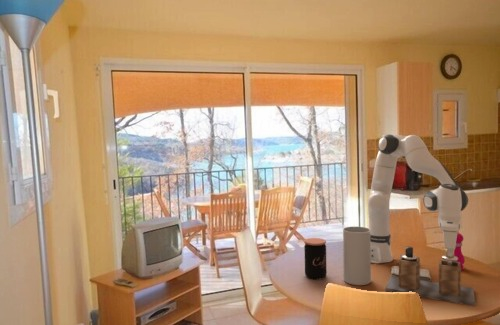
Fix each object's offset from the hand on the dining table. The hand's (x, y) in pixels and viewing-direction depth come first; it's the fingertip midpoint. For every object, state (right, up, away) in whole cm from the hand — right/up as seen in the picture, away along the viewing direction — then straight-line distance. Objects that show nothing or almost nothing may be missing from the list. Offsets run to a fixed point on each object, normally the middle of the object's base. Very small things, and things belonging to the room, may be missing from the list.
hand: (450, 254), depth 157 cm
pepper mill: (+21, -15, +32) cm, 41 cm away
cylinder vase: (-34, -18, +19) cm, 43 cm away
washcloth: (-6, -17, +24) cm, 30 cm away
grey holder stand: (-7, -18, +5) cm, 19 cm away
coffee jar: (-53, -18, +27) cm, 62 cm away
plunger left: (-14, -14, +9) cm, 21 cm away
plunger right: (0, -12, +1) cm, 12 cm away
